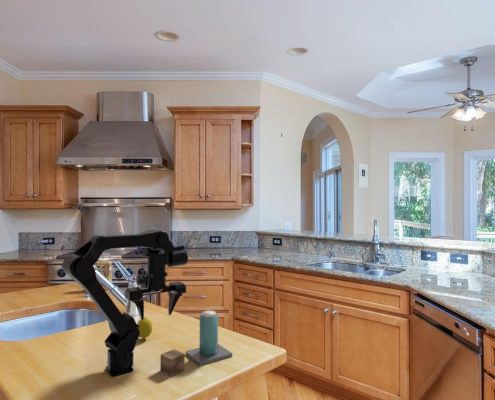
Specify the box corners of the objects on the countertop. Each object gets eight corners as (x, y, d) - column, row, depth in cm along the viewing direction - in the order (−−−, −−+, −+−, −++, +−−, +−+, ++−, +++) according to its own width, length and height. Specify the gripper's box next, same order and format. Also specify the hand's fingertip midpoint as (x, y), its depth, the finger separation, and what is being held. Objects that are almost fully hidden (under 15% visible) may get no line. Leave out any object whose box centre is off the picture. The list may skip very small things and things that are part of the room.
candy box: (111, 288, 204) (111, 261, 204) (109, 290, 200) (109, 262, 200) (95, 288, 204) (96, 261, 203) (93, 290, 199) (93, 262, 199)
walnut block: (170, 376, 103) (171, 359, 103) (160, 371, 106) (160, 354, 106) (184, 370, 107) (184, 353, 107) (173, 365, 110) (174, 349, 110)
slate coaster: (199, 365, 110) (199, 362, 110) (185, 354, 118) (185, 351, 118) (232, 356, 117) (232, 353, 117) (217, 345, 125) (217, 343, 125)
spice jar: (200, 356, 114) (200, 316, 114) (198, 349, 120) (199, 310, 120) (218, 355, 115) (219, 315, 115) (216, 347, 121) (216, 309, 121)
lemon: (153, 336, 133) (153, 314, 133) (149, 342, 128) (150, 319, 128) (138, 336, 133) (138, 314, 133) (134, 342, 127) (134, 319, 127)
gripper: (173, 262, 127) (173, 306, 127) (120, 267, 116) (119, 315, 116) (187, 267, 118) (186, 314, 118) (130, 273, 107) (130, 325, 107)
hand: (156, 317), depth 115 cm, fingers open, 9 cm apart
